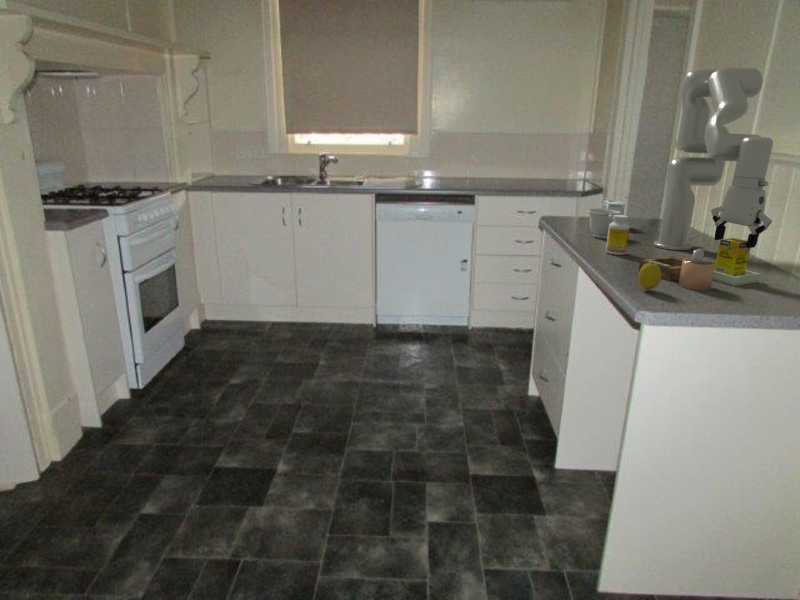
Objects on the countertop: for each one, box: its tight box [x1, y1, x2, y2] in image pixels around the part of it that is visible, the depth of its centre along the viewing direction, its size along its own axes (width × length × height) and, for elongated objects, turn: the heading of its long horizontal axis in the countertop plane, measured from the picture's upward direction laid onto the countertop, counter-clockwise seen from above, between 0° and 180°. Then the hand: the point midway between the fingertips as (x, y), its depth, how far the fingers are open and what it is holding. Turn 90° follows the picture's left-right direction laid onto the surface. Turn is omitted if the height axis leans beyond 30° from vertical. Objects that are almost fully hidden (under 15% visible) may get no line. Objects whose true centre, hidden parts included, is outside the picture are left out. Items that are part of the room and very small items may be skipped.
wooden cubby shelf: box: [638, 255, 684, 282], centre depth 170 cm, size 14×11×4 cm
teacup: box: [587, 208, 621, 239], centre depth 218 cm, size 12×15×10 cm
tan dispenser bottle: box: [678, 248, 716, 291], centre depth 156 cm, size 8×8×10 cm
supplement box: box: [714, 237, 752, 276], centre depth 164 cm, size 6×6×11 cm
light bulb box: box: [602, 199, 626, 215], centre depth 240 cm, size 11×7×11 cm, turn 172°
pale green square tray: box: [712, 267, 761, 287], centre depth 165 cm, size 11×11×2 cm
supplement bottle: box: [605, 214, 631, 256], centre depth 192 cm, size 7×7×13 cm
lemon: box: [637, 262, 662, 291], centre depth 151 cm, size 6×6×8 cm
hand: (734, 243), depth 163 cm, fingers open, 9 cm apart
